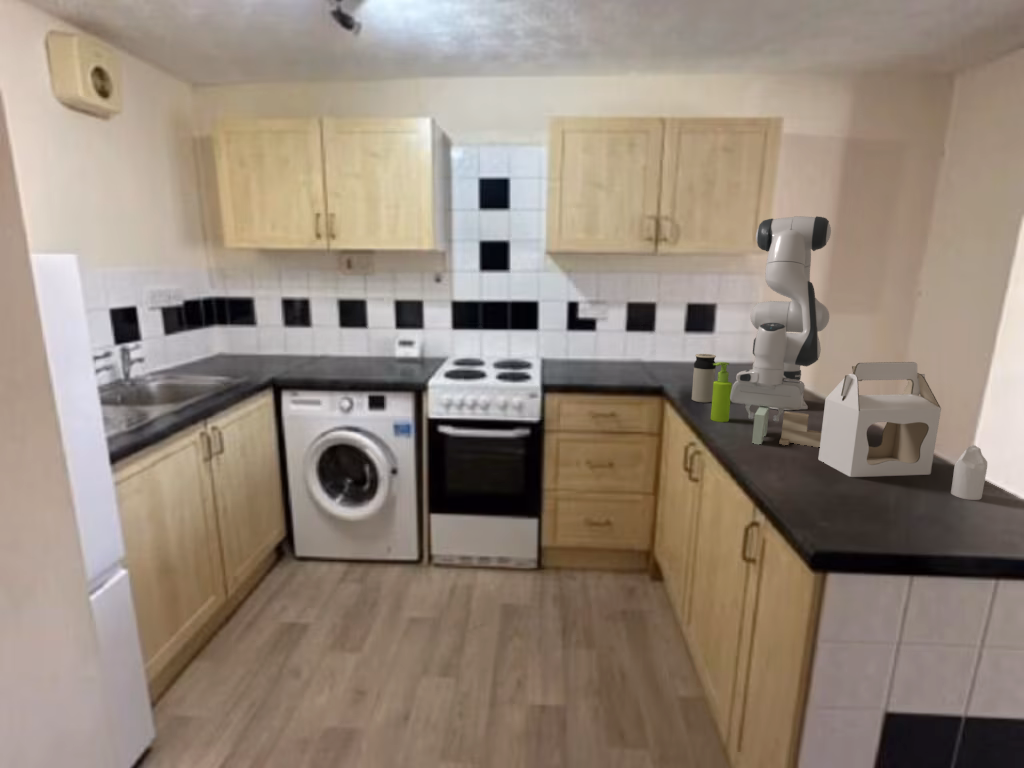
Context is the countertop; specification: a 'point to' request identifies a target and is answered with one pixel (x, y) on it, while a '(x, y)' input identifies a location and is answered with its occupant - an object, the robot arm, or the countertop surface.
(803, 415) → the wooden peg bench
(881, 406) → the gable box
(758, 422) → the grey-green rectangular slab
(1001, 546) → the countertop surface
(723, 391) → the soap dispenser
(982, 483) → the white plastic bottle
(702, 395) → the travel mug
